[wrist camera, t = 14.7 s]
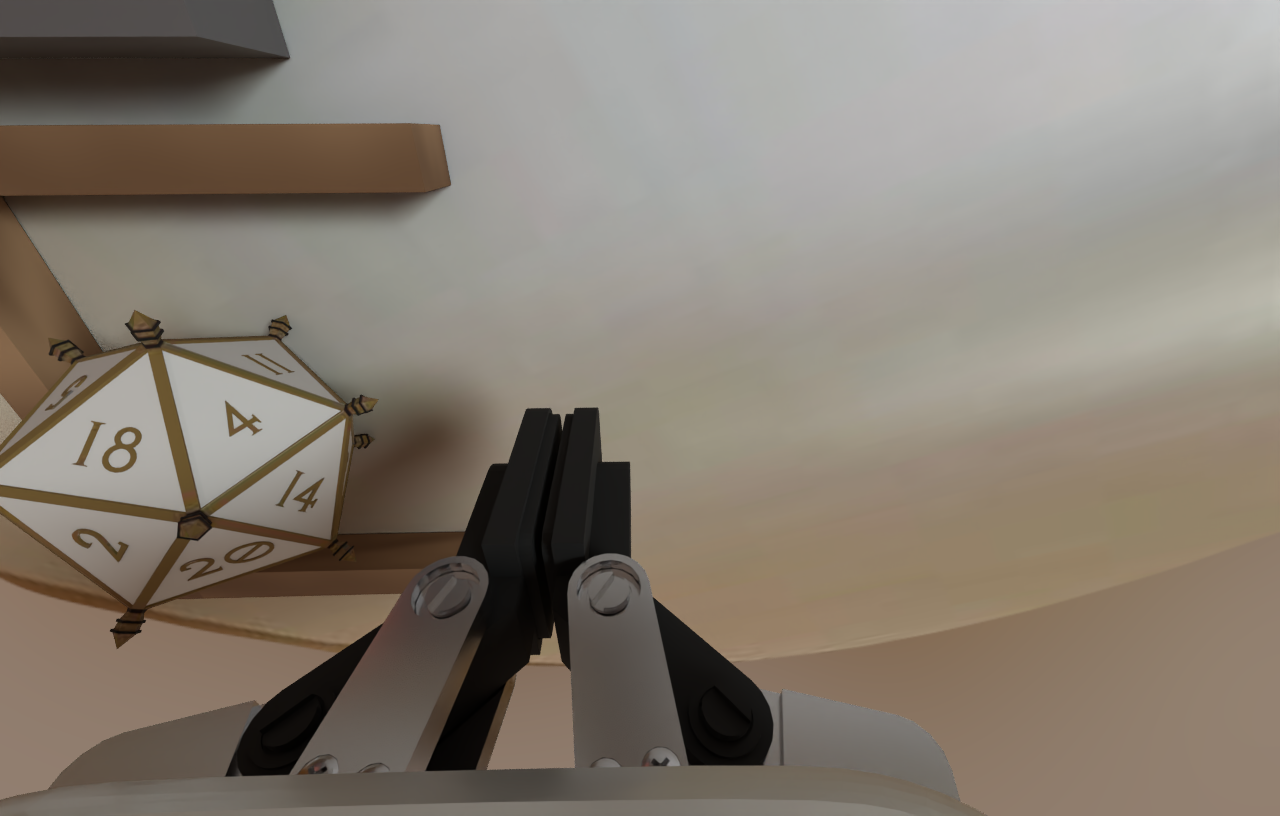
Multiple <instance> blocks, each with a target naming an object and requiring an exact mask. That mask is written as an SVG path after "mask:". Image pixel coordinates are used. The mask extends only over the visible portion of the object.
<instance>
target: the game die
mask: <svg viewBox="0 0 1280 816" xmlns="http://www.w3.org/2000/svg"><path fill="white" fill-rule="evenodd" d="M271 322H272V325H271V326H269V330H270V334H269V335H268V336H249V337H220V338H191V339H161V335H162V333H163V332H164V330H163V329H160V328H159V324H160V323H161V322H160V321H159V320H154V319H151V318H149V317H147V316H145V315H144V314H142V313H140V312H138V311H136V310H134V312H133V315H132V317H131V319H130V321H129V322H128V323H125V325H126V326H127V327H128V329H129V330H130V331H131V334H132V335H133V336H134V338H135V339H136V340H137V341H138V342H139V341H141V342H142V343H138V344H134V345H130V346H126V347H122V348H118V349H114V350H110V351H106V352H102V353H98V354H94V355H90V356H84V355H83V353H84V351H82V350H81V349H80V348H78V347H77V346H76V345H75V344H74V343H72V342H71V341H70V340H69V339H68V340H66V341H65V340H59V339H53V338H48V341H49V346H50V351H49V355H50V356H56V357H57V358H58V361H65V362H68V363H71V366H70V367H69V368H68V369H67V371H66V372H65V373H64V374H63V375H62V376H61V377H60V378H59V380H58V381H57V382H56V383H55V384H54V385H53V386H52V387H51V389H50V390H49V391H48V392H47V393H46V394H45V395H44V397H43V398H42V399H41V400H40V401H39V402H38V403H37V404H36V406H35V407H34V408H33V409H32V410H31V411H30V412H29V413H28V415H27V416H26V417H25V418H24V419H23V420H22V421H21V422H20V424H19V425H18V426H17V427H16V428H15V429H14V430H13V431H12V433H11V434H10V435H9V436H8V437H7V438H6V439H5V440H4V442H3V443H2V444H1V445H0V514H1V515H3V516H4V517H5V518H7V519H8V520H9V521H11V522H12V523H13V524H15V525H16V526H18V527H19V528H20V529H22V530H23V531H24V532H26V533H27V534H28V535H30V536H31V537H33V538H34V539H35V540H37V541H38V542H39V543H41V544H42V545H43V546H45V547H46V548H47V549H49V550H50V551H52V552H53V553H54V554H56V555H57V556H58V557H60V558H61V559H62V560H64V561H65V562H67V563H68V564H69V565H71V566H72V567H73V568H75V569H76V570H77V571H79V572H80V573H81V574H83V575H84V576H86V577H87V578H88V579H90V580H91V581H92V582H94V583H95V584H96V585H98V586H99V587H101V588H102V589H103V590H105V591H106V592H107V593H109V594H110V595H111V596H113V597H114V598H116V599H117V600H118V601H120V602H121V603H122V604H124V605H125V606H126V607H128V609H127V612H126V613H125V614H124V615H123V616H122V617H121V618H120V619H117V620H116V621H117V622H118V623H117V624H116V626H115V628H114V629H111V630H110V632H113V635H114V639H115V643H116V647H117V649H118V648H119V647H120V646H122V645H123V644H124V643H125V642H127V641H128V640H129V639H130V638H132V637H133V636H134V635H136V634H137V633H140V632H141V630H140V627H141V625H142V623H145V621H146V620H144V612H145V611H146V610H147V609H149V608H152V607H155V606H158V605H161V604H164V603H166V602H169V601H172V600H175V599H178V598H181V597H184V596H187V595H190V594H193V593H196V592H199V591H202V590H205V589H208V588H211V587H214V586H216V585H219V584H222V583H225V582H228V581H231V580H234V579H237V578H240V577H243V576H246V575H249V574H252V573H255V572H258V571H261V570H263V569H266V568H269V567H272V566H275V565H278V564H281V563H284V562H287V561H290V560H293V559H296V558H299V557H302V556H305V555H308V554H311V553H313V552H316V551H319V550H322V549H325V548H328V549H330V550H331V551H332V553H333V556H337V557H338V558H339V561H341V560H346V561H354V562H357V561H356V557H355V553H354V549H353V548H354V546H352V547H351V546H350V545H348V544H347V543H348V542H347V541H346V542H342V541H339V540H338V539H337V535H338V529H339V524H340V518H341V513H342V508H343V502H344V497H345V491H346V486H347V481H348V475H349V470H350V464H351V459H352V454H353V448H354V447H357V448H358V449H360V448H361V447H364V448H367V446H368V445H369V444H370V443H371V442H372V441H373V440H375V439H373V438H371V437H370V436H368V434H361V435H355V437H354V430H353V414H357V415H361V414H363V413H368V412H370V411H373V410H372V408H373V407H374V405H375V404H376V403H377V401H378V399H373V398H368V397H365V396H363V395H360V397H359V398H357V399H356V398H353V399H352V402H350V403H349V404H346V403H345V402H344V401H343V400H342V399H341V398H340V397H339V396H338V395H337V394H336V393H335V392H334V391H333V390H332V389H331V388H330V387H329V386H327V385H326V384H325V383H324V382H323V381H322V380H321V379H320V378H319V377H318V376H317V375H316V374H315V373H314V372H313V371H312V370H311V369H310V368H309V367H308V366H307V365H305V364H304V363H303V362H302V361H301V360H300V359H299V358H298V357H297V356H296V355H295V354H294V353H293V352H292V351H291V350H290V349H289V348H288V347H287V346H286V345H284V344H283V343H282V342H281V339H282V338H283V337H284V336H286V335H288V333H287V332H288V330H290V329H292V328H291V327H290V325H289V322H288V319H287V316H286V315H285V316H283V317H281V318H278V319H276V320H271Z"/></svg>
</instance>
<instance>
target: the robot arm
mask: <svg viewBox="0 0 1280 816" xmlns="http://www.w3.org/2000/svg"><path fill="white" fill-rule="evenodd" d="M554 622H555V628H556V633H557V638H558V644H559V649H560V654H561V659H562V662H563V663H564V664H565V665H566V667H567V668H568V669H569V670H570V671H571V686H572V710H573V732H574V754H575V768H548V769H509V770H508V769H505V770H487V767H488V764H489V761H490V758H491V755H492V752H493V749H494V746H495V743H496V740H497V737H498V734H499V731H500V728H501V725H502V722H503V719H504V716H505V714H506V710H507V708H508V705H509V702H510V698H511V696H512V693H513V689H514V686H515V681H516V673H517V672H518V671H519V670H521V668H523V667H524V666H525V665H526V664H527V663H529V660H530V655H540V651H541V645H542V639H543V638H551V636H552V631H553V624H554ZM0 816H987V815H986V814H984V813H982V812H981V811H979V810H977V809H975V808H973V807H971V806H969V805H967V804H965V803H962V802H960V798H959V795H958V791H957V787H956V784H955V780H954V776H953V773H952V770H951V767H950V765H949V763H948V760H947V758H946V756H945V754H944V751H943V750H942V749H941V748H940V746H939V745H938V744H937V743H936V741H935V740H934V739H933V738H932V736H931V735H930V734H929V733H927V732H926V731H925V730H924V729H922V728H921V727H920V726H918V725H917V724H916V723H915V722H913V721H910V720H908V719H906V718H903V717H901V716H898V715H895V714H890V713H886V712H881V711H877V710H872V709H868V708H864V707H860V706H855V705H851V704H847V703H842V702H837V701H833V700H829V699H825V698H820V697H816V696H811V695H806V694H803V693H798V692H794V691H789V690H785V689H782V691H781V694H779V693H775V692H770V691H766V690H762V689H759V688H758V687H757V686H756V685H755V684H754V683H753V682H752V680H750V679H749V678H748V677H747V676H746V675H744V674H743V673H742V672H741V671H740V670H739V669H737V668H736V667H735V666H734V665H733V664H732V663H730V662H729V661H728V660H727V659H726V658H724V657H723V656H722V655H721V654H720V653H719V652H717V651H716V650H715V649H714V648H713V647H711V646H710V645H709V644H708V643H707V642H705V641H704V640H703V639H702V638H701V637H700V636H698V635H697V634H696V633H695V632H694V631H692V630H691V629H690V628H689V627H688V626H687V625H685V624H684V623H683V622H682V621H681V620H679V619H678V618H677V617H676V616H675V615H674V614H672V613H671V612H670V611H669V610H668V609H666V608H665V607H664V606H663V605H662V604H661V603H659V602H658V601H657V600H656V599H655V598H653V597H652V592H651V587H650V583H649V579H648V577H647V574H646V572H645V570H644V569H643V568H642V567H641V566H640V564H639V563H638V562H636V561H635V560H633V559H631V489H630V462H602V453H601V438H600V422H599V410H598V408H575V410H574V414H566V416H565V421H564V426H563V431H562V425H561V417H560V415H559V414H552V410H551V409H550V408H531V409H526V411H525V414H524V417H523V420H522V423H521V426H520V429H519V432H518V435H517V438H516V441H515V444H514V447H513V450H512V453H511V456H510V459H509V462H508V464H492V465H491V466H490V468H489V470H488V472H487V475H486V478H485V480H484V483H483V486H482V488H481V491H480V494H479V496H478V499H477V502H476V504H475V507H474V510H473V512H472V515H471V518H470V520H469V523H468V526H467V528H466V531H465V533H464V536H463V539H462V541H461V544H460V547H459V549H458V552H457V555H456V556H452V557H448V558H444V559H440V560H438V561H436V562H434V563H432V564H430V565H428V566H426V567H425V568H424V569H423V570H421V571H420V572H419V573H417V574H416V575H415V576H414V578H413V579H412V580H411V581H410V583H409V584H408V585H407V587H406V588H405V590H404V591H403V593H402V595H401V596H400V598H399V599H398V601H397V603H396V604H395V606H394V607H393V609H392V611H391V612H390V614H389V615H388V617H387V619H386V620H385V622H384V623H383V624H381V625H380V626H378V627H377V628H375V629H374V630H372V631H371V632H369V633H368V634H366V635H365V636H363V637H362V638H360V639H359V640H357V641H356V642H354V643H353V644H351V645H350V646H348V647H347V648H345V649H344V650H342V651H341V652H339V653H338V654H336V655H335V656H333V657H332V658H330V659H329V660H327V661H326V662H324V663H323V664H321V665H320V666H318V667H317V668H315V669H314V670H312V671H311V672H309V673H308V674H306V675H305V676H303V677H302V678H300V679H299V680H297V681H296V682H294V683H293V684H291V685H290V686H288V687H287V688H285V689H284V690H282V691H281V692H280V693H279V694H277V695H276V696H275V697H274V698H272V699H271V700H270V701H268V702H267V703H266V704H262V705H259V704H258V703H257V702H256V701H255V700H254V701H250V702H246V703H242V704H238V705H234V706H229V707H225V708H221V709H217V710H213V711H209V712H205V713H201V714H197V715H193V716H189V717H185V718H181V719H177V720H173V721H169V722H165V723H161V724H157V725H153V726H149V727H145V728H140V729H137V730H133V731H129V732H124V733H122V734H119V735H117V736H114V737H111V738H109V739H106V740H104V741H102V742H101V743H99V744H98V745H96V746H94V747H93V748H91V749H90V750H88V751H86V752H85V753H83V754H82V755H81V756H80V757H78V758H77V759H76V760H75V761H74V762H73V763H71V765H69V766H68V767H67V768H66V769H65V770H64V771H63V772H61V774H60V775H59V776H58V777H57V779H56V780H55V781H54V782H53V784H52V785H51V786H50V787H49V789H48V790H43V791H38V792H33V793H27V794H23V795H17V796H13V797H10V798H6V799H2V800H0Z"/></svg>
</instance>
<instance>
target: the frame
mask: <svg viewBox="0 0 1280 816" xmlns="http://www.w3.org/2000/svg"><path fill="white" fill-rule="evenodd" d="M449 185H451V182H450V176H449V171H448V166H447V161H446V156H445V150H444V145H443V140H442V135H441V130H440V125H431V124H412V123H396V124H206V125H17V126H0V393H1V395H2V396H3V397H4V398H5V400H6V401H7V402H8V403H9V404H10V406H11V407H12V408H13V409H14V411H15V412H16V413H17V414H18V416H19V417H20V418H21V419H22V420H23V419H24V418H25V417H26V416H27V415H28V413H29V412H30V411H31V410H32V409H33V408H34V407H35V406H36V404H37V403H38V402H39V401H40V400H41V399H42V398H43V397H44V395H45V394H46V393H47V392H48V391H49V390H50V389H51V387H52V386H53V385H54V384H55V383H56V382H57V381H58V380H59V378H60V377H61V376H62V375H63V374H64V373H65V372H66V371H67V369H68V368H69V367H70V366H71V363H68V362H65V361H58V358H57V357H56V356H50V355H49V351H50V346H49V341H48V338H53V339H59V340H65V341H66V340H68V339H69V340H70V341H71V342H72V343H74V344H75V345H76V346H77V347H78V348H80V349H81V350H82V351H84V353H83V355H84V356H90V355H94V354H98V353H102V350H101V349H100V347H99V346H98V344H97V343H96V341H95V339H94V338H93V336H92V335H91V333H90V332H89V330H88V329H87V327H86V326H85V324H84V323H83V321H82V319H81V318H80V316H79V315H78V313H77V312H76V310H75V309H74V307H73V306H72V304H71V302H70V301H69V299H68V298H67V296H66V295H65V293H64V292H63V290H62V289H61V287H60V285H59V284H58V282H57V281H56V279H55V278H54V276H53V275H52V273H51V272H50V270H49V269H48V267H47V265H46V264H45V262H44V261H43V259H42V258H41V256H40V255H39V253H38V252H37V250H36V248H35V247H34V245H33V244H32V242H31V241H30V239H29V238H28V236H27V235H26V233H25V232H24V230H23V228H22V227H21V225H20V224H19V222H18V221H17V219H16V218H15V216H14V215H13V213H12V211H11V210H10V208H9V207H8V205H7V204H6V202H5V201H4V199H3V198H2V196H17V195H140V194H264V193H388V192H428V191H432V190H435V189H439V188H442V187H446V186H449ZM464 533H465V532H440V533H394V534H349V535H337V539H338V540H339V541H342V542H346V541H347V542H348V543H347V544H348V545H350V546H351V547H352V546H354V548H353V549H354V553H355V557H356V561H357V562H354V561H346V560H341V561H339V558H338V557H337V556H333V553H332V551H331V550H330V549H328V548H325V549H322V550H319V551H316V552H313V553H311V554H308V555H305V556H302V557H299V558H296V559H293V560H290V561H287V562H284V563H281V564H278V565H275V566H272V567H269V568H266V569H263V570H261V571H258V572H255V573H252V574H249V575H246V576H243V577H240V578H237V579H234V580H231V581H228V582H225V583H222V584H219V585H216V586H214V587H211V588H208V589H205V590H202V591H199V592H196V593H193V594H190V595H187V596H184V597H181V598H178V599H198V598H239V597H280V596H320V595H361V594H402V593H403V591H404V590H405V588H406V587H407V585H408V584H409V583H410V581H411V580H412V579H413V578H414V576H415V575H416V574H417V573H419V572H420V571H421V570H423V569H424V568H425V567H426V566H428V565H430V564H432V563H434V562H436V561H438V560H440V559H444V558H448V557H452V556H456V555H457V552H458V549H459V547H460V544H461V541H462V539H463V536H464Z"/></svg>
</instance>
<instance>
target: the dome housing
mask: <svg viewBox="0 0 1280 816" xmlns="http://www.w3.org/2000/svg"><path fill="white" fill-rule="evenodd" d="M2 58H290V55H289V52H288V49H287V46H286V43H285V39H284V36H283V33H282V30H281V27H280V24H279V20H278V17H277V14H276V11H275V8H274V4H273V1H272V0H0V59H2Z"/></svg>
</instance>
